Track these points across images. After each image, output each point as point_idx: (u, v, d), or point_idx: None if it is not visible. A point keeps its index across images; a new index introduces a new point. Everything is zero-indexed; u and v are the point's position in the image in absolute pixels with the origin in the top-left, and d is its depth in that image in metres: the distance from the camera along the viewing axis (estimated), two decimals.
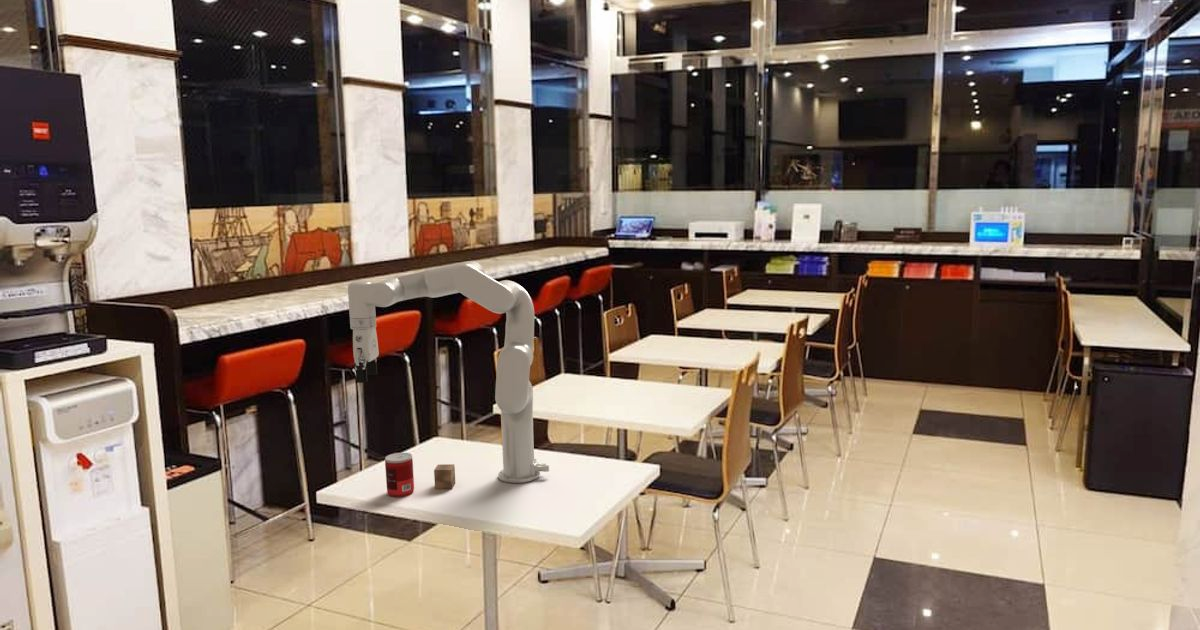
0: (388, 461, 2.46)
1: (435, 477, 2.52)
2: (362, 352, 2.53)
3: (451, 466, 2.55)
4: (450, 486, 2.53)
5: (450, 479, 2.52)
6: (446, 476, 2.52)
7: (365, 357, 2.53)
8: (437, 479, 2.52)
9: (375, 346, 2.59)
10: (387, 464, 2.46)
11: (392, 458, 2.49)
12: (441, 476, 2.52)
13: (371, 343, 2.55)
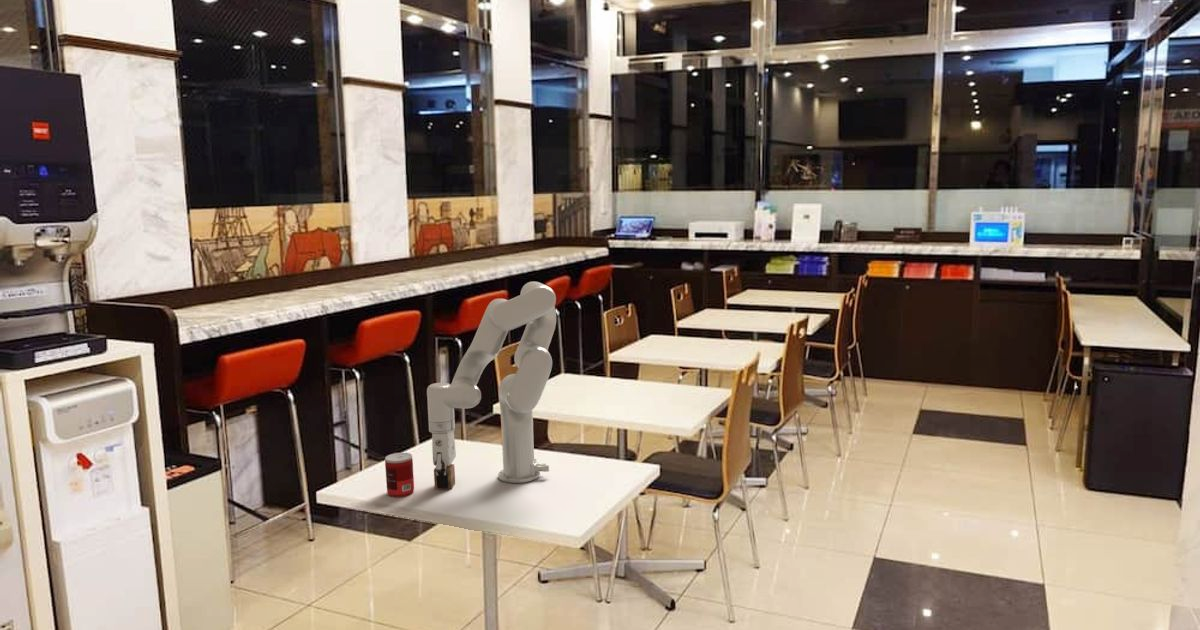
0: (388, 461, 2.46)
1: (435, 477, 2.52)
2: (442, 456, 2.48)
3: (451, 466, 2.55)
4: (450, 486, 2.52)
5: (450, 479, 2.52)
6: None
7: (445, 461, 2.49)
8: None
9: (453, 448, 2.55)
10: (387, 464, 2.46)
11: (392, 458, 2.49)
12: None
13: (450, 446, 2.51)
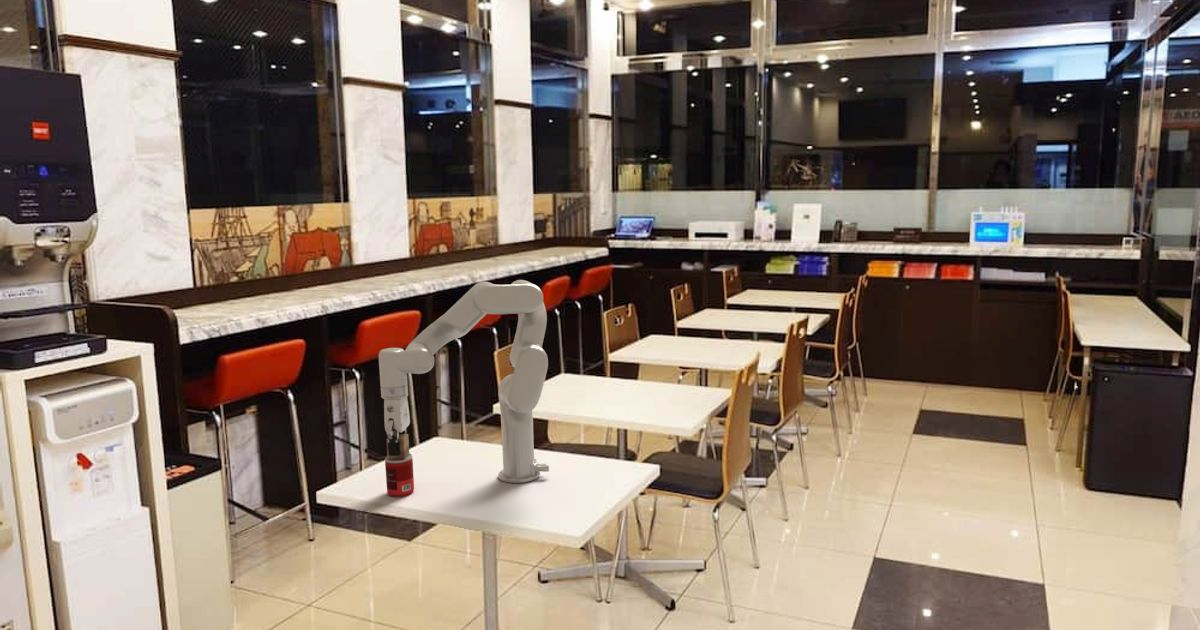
0: (388, 461, 2.46)
1: (387, 446, 2.46)
2: (394, 423, 2.42)
3: (404, 436, 2.49)
4: (403, 456, 2.46)
5: (403, 449, 2.46)
6: None
7: (397, 428, 2.43)
8: None
9: (406, 415, 2.49)
10: (387, 464, 2.46)
11: None
12: None
13: (403, 413, 2.45)
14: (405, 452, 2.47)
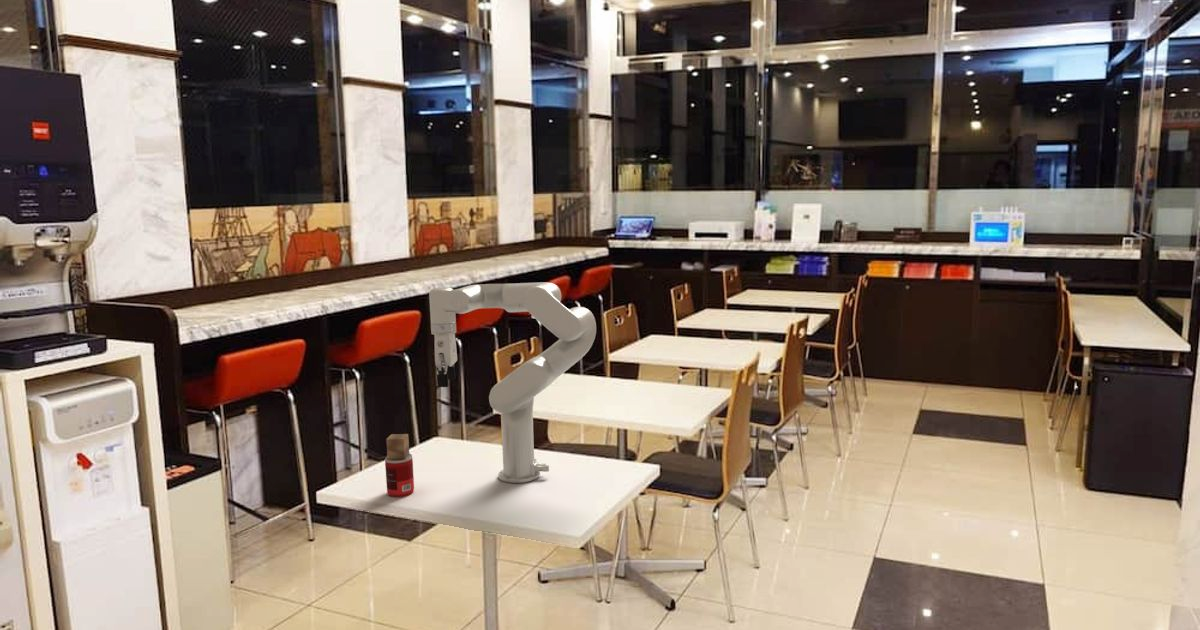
0: (388, 461, 2.46)
1: (387, 446, 2.46)
2: (444, 357, 2.57)
3: (404, 436, 2.49)
4: (403, 456, 2.46)
5: (403, 449, 2.46)
6: (399, 445, 2.46)
7: (447, 362, 2.57)
8: (389, 448, 2.46)
9: (454, 351, 2.64)
10: (387, 464, 2.46)
11: None
12: (394, 445, 2.46)
13: (452, 348, 2.60)
14: (405, 452, 2.47)
